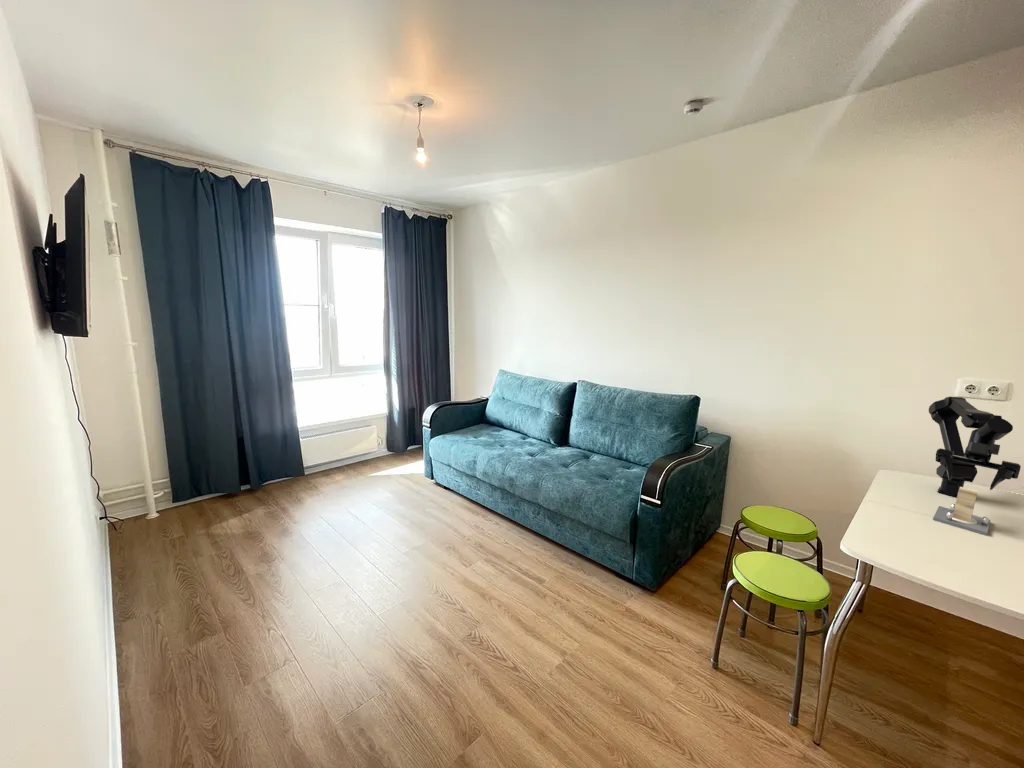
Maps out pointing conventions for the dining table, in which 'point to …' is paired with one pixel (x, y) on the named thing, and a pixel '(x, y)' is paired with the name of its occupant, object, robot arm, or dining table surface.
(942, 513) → the plate
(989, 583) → the dining table surface
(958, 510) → the maple block
